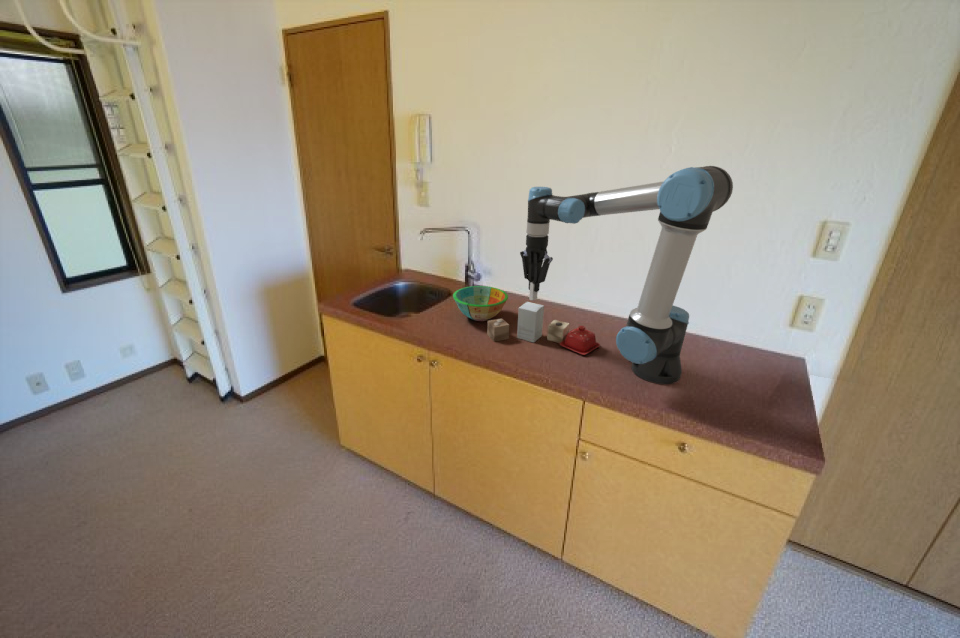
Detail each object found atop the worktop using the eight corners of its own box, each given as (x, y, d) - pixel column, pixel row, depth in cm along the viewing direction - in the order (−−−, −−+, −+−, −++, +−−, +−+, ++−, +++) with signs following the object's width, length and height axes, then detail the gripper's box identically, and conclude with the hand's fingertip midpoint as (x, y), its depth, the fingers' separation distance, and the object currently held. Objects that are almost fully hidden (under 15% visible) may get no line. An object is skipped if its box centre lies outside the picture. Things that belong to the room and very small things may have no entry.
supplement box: (542, 335, 160) (545, 305, 155) (533, 343, 154) (536, 312, 149) (525, 330, 164) (527, 300, 158) (516, 338, 158) (518, 307, 153)
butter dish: (557, 346, 153) (559, 325, 149) (575, 337, 160) (577, 316, 157) (583, 358, 146) (587, 336, 142) (601, 347, 153) (605, 326, 149)
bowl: (474, 302, 188) (474, 281, 184) (517, 315, 176) (518, 293, 172) (442, 319, 172) (441, 296, 167) (486, 334, 160) (487, 310, 156)
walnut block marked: (508, 339, 157) (509, 324, 155) (493, 341, 155) (494, 326, 152) (501, 332, 162) (502, 317, 160) (487, 335, 160) (487, 320, 157)
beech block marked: (567, 337, 159) (569, 322, 157) (561, 343, 155) (563, 328, 152) (553, 333, 162) (554, 319, 160) (546, 339, 157) (548, 324, 155)
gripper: (559, 236, 141) (553, 301, 150) (529, 229, 149) (526, 291, 159) (545, 239, 136) (540, 306, 146) (515, 232, 144) (512, 296, 154)
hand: (533, 299), depth 152 cm, fingers closed
